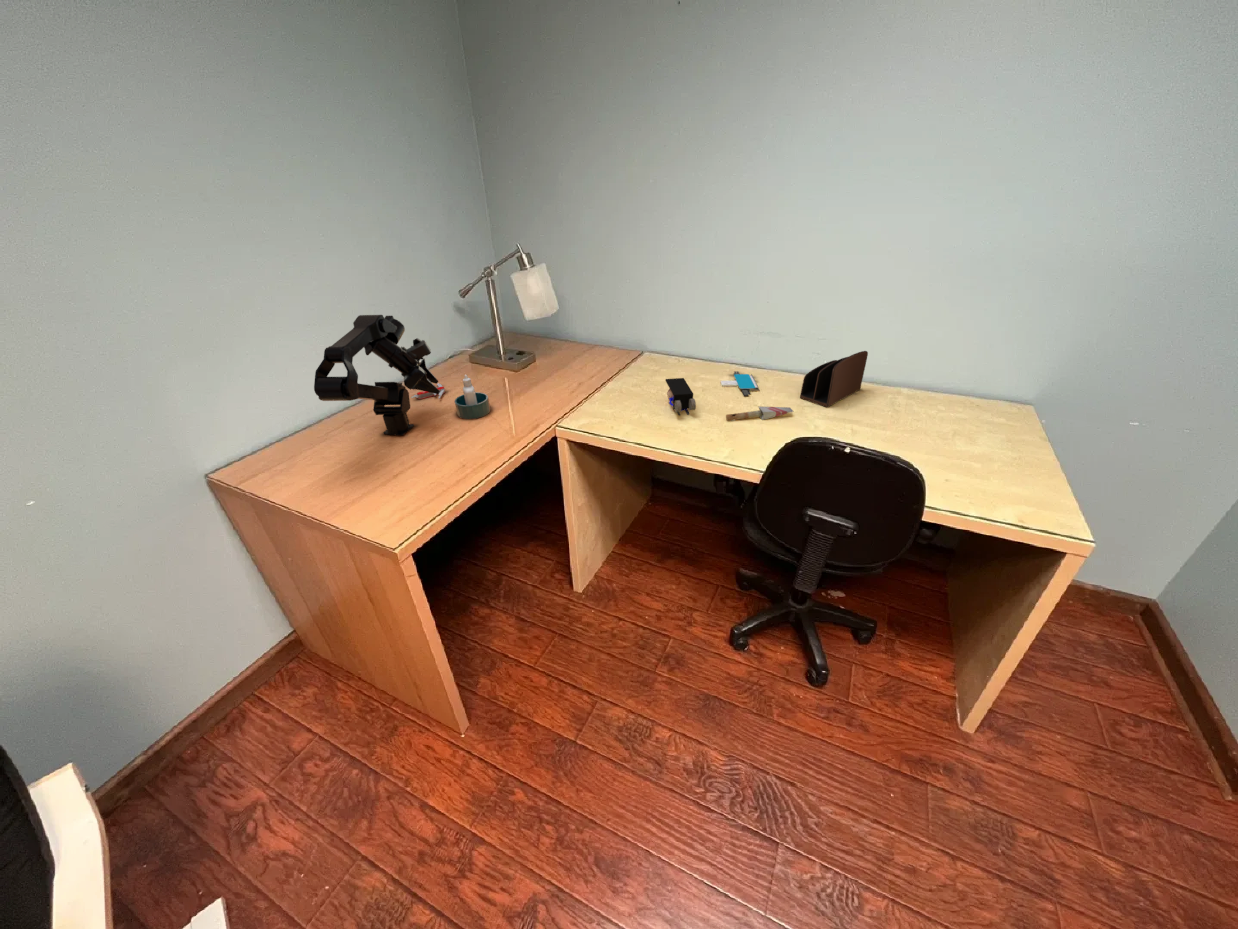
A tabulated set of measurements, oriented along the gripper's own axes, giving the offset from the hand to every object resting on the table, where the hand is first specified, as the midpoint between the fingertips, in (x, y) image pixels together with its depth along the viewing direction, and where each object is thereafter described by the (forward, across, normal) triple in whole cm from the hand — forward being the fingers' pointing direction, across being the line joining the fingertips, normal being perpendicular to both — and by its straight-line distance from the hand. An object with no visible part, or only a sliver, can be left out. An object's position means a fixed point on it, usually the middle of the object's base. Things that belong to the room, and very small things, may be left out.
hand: (438, 387), depth 148 cm
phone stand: (+70, -16, -67) cm, 98 cm away
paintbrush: (+65, -39, -60) cm, 97 cm away
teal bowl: (+13, 0, 0) cm, 13 cm away
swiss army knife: (+5, +19, +9) cm, 22 cm away
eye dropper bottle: (+13, 0, 0) cm, 13 cm away
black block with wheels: (+53, -24, -46) cm, 74 cm away
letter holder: (+84, -34, -83) cm, 123 cm away
